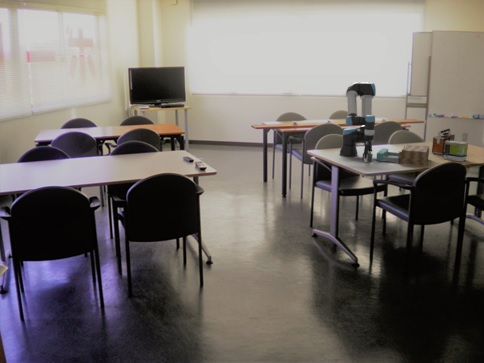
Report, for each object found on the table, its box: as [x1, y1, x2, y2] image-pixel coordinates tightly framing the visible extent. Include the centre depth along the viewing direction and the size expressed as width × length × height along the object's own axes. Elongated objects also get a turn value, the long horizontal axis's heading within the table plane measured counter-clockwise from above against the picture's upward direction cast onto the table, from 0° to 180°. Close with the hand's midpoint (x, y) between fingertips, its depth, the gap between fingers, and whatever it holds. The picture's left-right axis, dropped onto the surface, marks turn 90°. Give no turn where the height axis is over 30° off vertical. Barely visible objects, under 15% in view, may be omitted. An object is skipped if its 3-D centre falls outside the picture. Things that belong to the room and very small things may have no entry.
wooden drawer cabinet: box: [397, 144, 430, 167], centre depth 403 cm, size 20×28×11 cm
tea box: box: [443, 140, 469, 162], centre depth 411 cm, size 15×10×15 cm, turn 42°
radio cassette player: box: [431, 128, 456, 155], centre depth 442 cm, size 29×10×20 cm, turn 141°
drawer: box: [375, 147, 399, 163], centre depth 410 cm, size 23×24×6 cm
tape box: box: [361, 153, 374, 163], centre depth 404 cm, size 7×5×6 cm
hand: (367, 160), depth 405 cm, fingers open, 12 cm apart
